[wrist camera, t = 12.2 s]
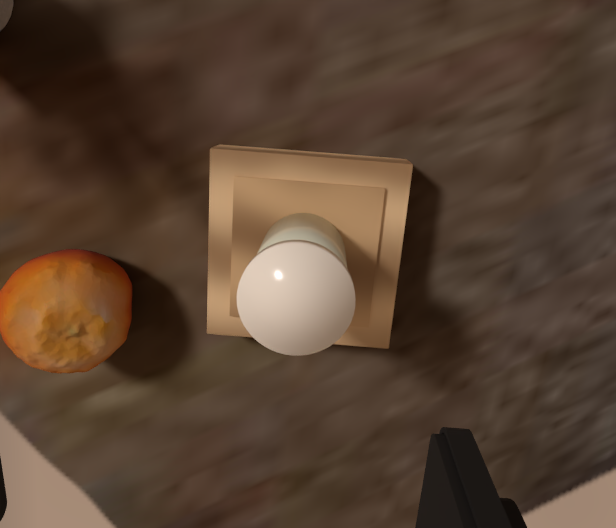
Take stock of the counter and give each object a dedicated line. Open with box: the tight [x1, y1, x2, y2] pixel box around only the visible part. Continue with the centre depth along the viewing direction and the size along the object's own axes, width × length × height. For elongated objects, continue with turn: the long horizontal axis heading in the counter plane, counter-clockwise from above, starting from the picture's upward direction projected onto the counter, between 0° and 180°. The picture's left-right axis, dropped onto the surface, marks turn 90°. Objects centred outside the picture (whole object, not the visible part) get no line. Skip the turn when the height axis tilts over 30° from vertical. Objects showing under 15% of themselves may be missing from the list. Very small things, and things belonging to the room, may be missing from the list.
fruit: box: [0, 249, 132, 373], centre depth 34 cm, size 8×8×8 cm
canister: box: [237, 213, 356, 355], centre depth 28 cm, size 6×6×8 cm
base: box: [207, 144, 413, 349], centre depth 34 cm, size 12×12×3 cm
